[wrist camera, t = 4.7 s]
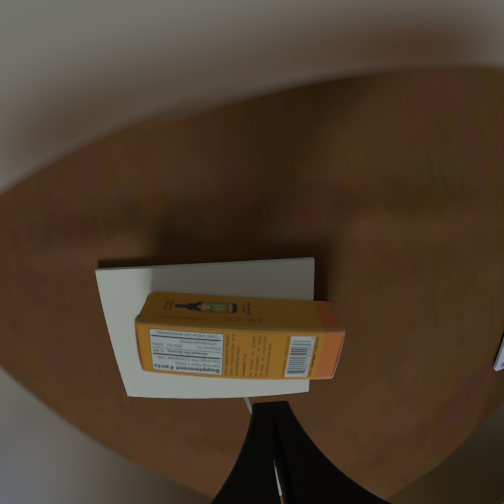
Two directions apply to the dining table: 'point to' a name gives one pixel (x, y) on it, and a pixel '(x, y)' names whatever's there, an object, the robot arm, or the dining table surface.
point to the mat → (202, 283)
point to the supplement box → (238, 337)
